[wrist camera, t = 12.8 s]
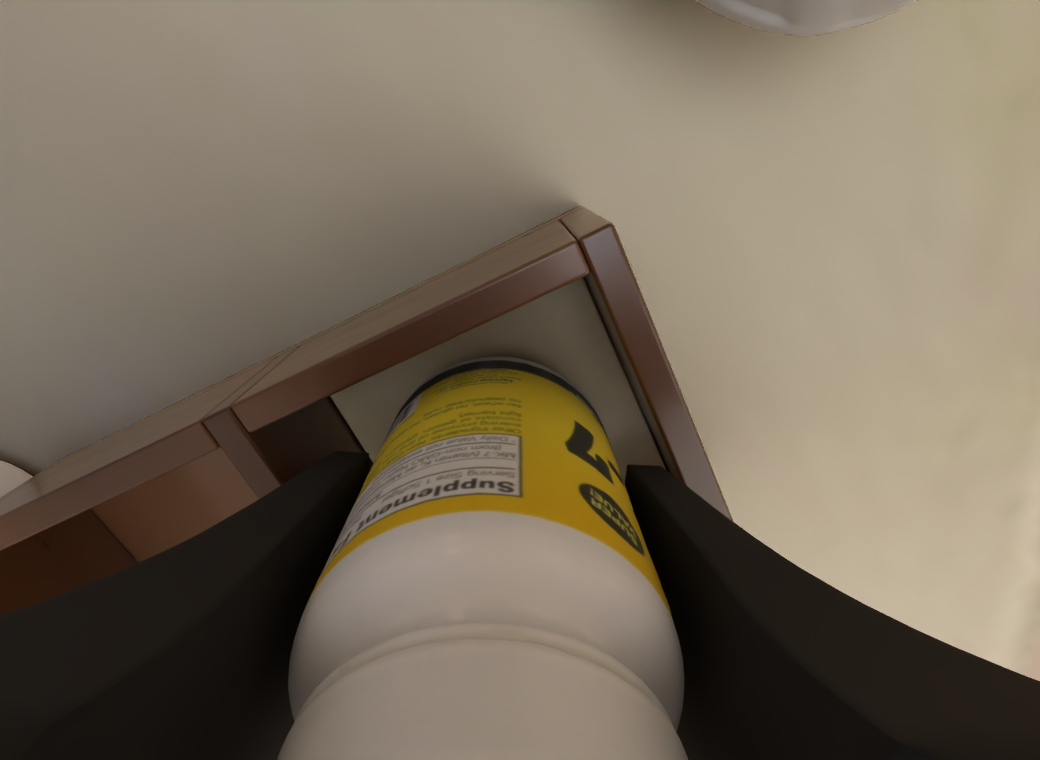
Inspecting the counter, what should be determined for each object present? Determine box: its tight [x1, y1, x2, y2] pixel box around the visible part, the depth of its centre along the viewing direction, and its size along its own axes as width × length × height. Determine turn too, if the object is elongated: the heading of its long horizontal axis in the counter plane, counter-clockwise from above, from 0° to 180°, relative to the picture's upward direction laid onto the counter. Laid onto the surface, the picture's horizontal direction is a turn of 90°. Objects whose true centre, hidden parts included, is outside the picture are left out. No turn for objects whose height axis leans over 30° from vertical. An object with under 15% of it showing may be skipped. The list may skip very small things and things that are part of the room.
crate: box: [0, 206, 733, 615], centre depth 13 cm, size 15×8×4 cm, turn 115°
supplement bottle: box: [277, 356, 688, 760], centre depth 8 cm, size 5×5×8 cm
